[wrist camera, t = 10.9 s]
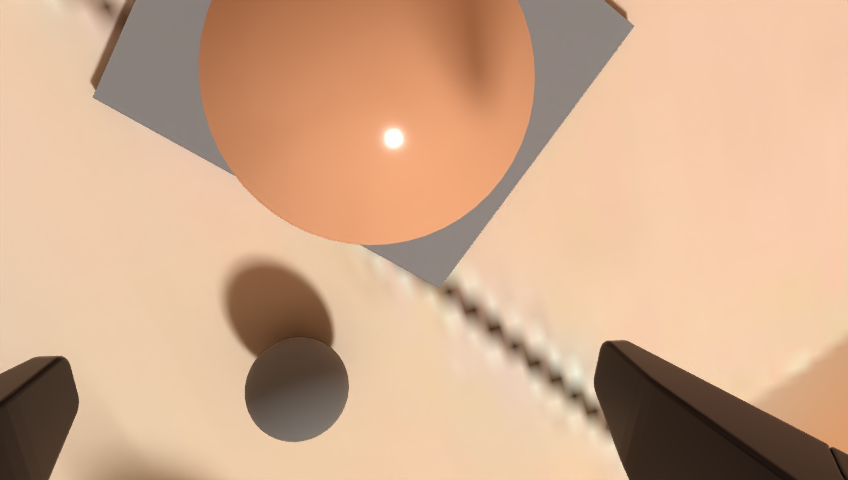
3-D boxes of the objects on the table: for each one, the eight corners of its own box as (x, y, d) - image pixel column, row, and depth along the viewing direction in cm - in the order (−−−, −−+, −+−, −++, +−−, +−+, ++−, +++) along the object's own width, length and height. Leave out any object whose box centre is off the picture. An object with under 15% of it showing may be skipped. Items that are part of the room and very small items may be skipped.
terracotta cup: (221, 96, 18) (140, 144, 11) (329, -113, 16) (305, -198, 9) (401, 203, 20) (418, 293, 13) (516, 32, 18) (601, 43, 11)
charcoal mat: (98, 95, 18) (92, 97, 17) (266, -284, 14) (263, -292, 14) (437, 283, 22) (439, 288, 21) (628, 25, 19) (634, 26, 18)
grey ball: (239, 372, 23) (215, 441, 19) (283, 302, 21) (267, 361, 18) (321, 407, 24) (313, 478, 20) (367, 343, 23) (367, 406, 19)
